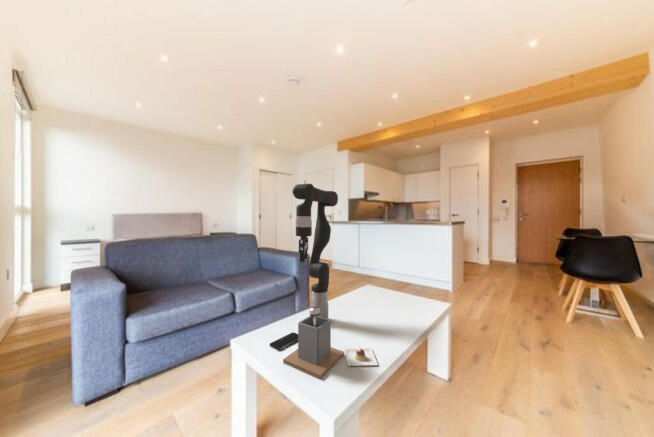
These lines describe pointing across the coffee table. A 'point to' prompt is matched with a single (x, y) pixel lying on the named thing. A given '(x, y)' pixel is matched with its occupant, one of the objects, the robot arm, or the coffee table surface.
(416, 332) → the coffee table surface
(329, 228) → the robot arm
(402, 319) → the coffee table surface
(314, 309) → the plunger
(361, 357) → the dessert
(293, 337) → the phone
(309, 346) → the grey square holder
